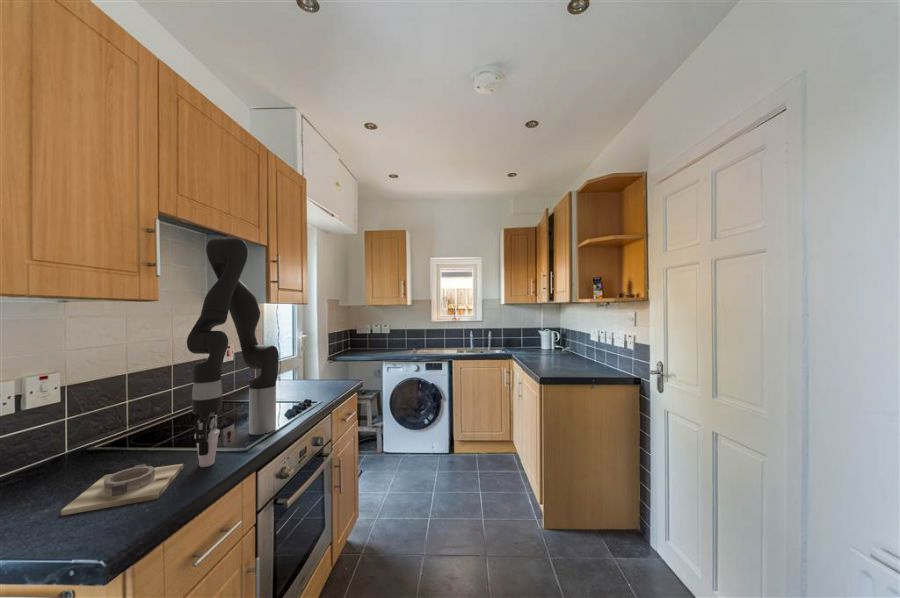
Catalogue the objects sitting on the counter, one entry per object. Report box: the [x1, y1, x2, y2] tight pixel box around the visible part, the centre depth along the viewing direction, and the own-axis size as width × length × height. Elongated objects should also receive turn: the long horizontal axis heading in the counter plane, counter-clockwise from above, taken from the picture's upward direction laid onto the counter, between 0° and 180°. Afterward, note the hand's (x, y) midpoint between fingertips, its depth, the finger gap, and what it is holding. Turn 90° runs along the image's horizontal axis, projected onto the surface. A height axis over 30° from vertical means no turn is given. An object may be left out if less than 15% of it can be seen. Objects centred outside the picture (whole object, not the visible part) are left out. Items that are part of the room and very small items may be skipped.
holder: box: [60, 463, 184, 516], centre depth 91 cm, size 18×18×4 cm
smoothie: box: [194, 428, 221, 468], centre depth 105 cm, size 6×6×14 cm
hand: (207, 450), depth 105 cm, fingers closed on smoothie, 6 cm apart
